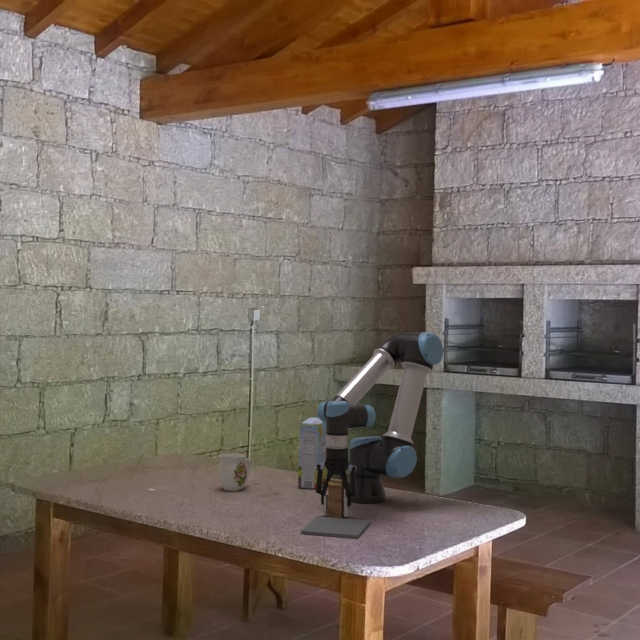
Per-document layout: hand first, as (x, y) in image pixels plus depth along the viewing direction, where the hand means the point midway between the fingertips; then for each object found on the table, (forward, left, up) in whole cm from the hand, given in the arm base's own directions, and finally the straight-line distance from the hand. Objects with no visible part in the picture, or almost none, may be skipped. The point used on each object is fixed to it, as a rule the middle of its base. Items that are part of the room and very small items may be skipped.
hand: (335, 515), depth 292 cm
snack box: (-52, -22, -1) cm, 56 cm away
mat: (+15, +4, 0) cm, 16 cm away
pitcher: (-32, -48, -1) cm, 58 cm away
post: (0, 0, 0) cm, 0 cm away
